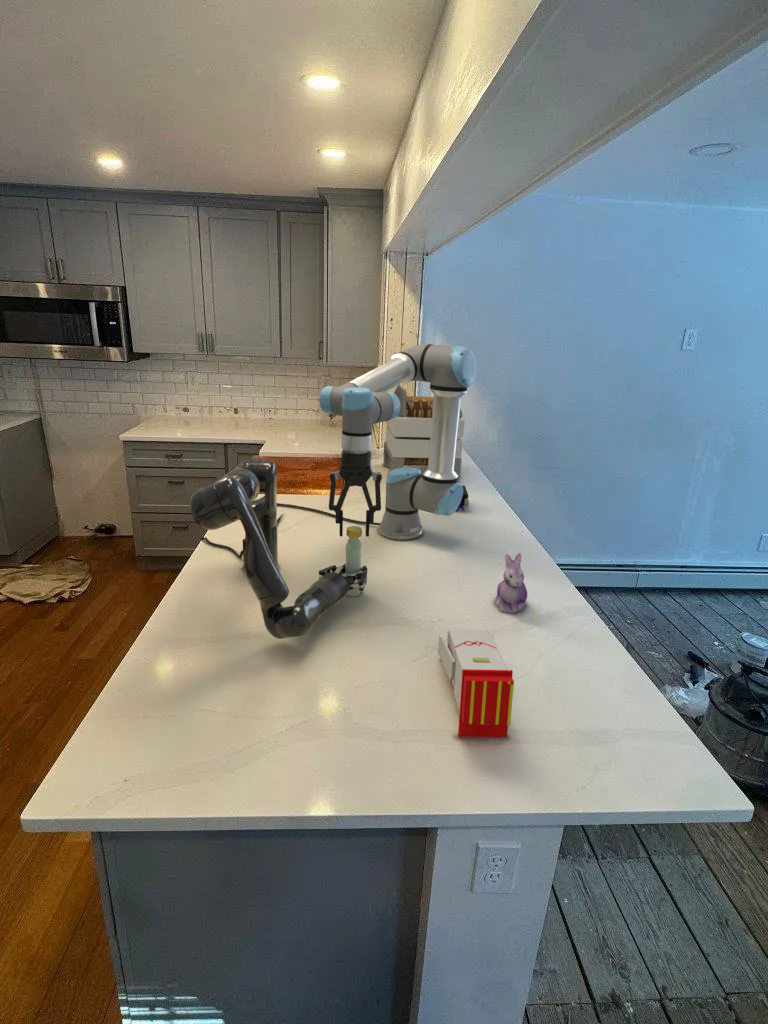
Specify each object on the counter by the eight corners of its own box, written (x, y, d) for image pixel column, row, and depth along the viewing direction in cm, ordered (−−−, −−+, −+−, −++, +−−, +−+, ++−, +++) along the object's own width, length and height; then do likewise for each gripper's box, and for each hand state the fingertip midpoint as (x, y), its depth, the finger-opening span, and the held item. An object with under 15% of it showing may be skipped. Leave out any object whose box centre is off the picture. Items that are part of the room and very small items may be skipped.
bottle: (349, 587, 160) (350, 527, 154) (362, 591, 158) (364, 530, 152) (342, 593, 156) (343, 532, 150) (355, 597, 155) (357, 535, 149)
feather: (290, 508, 223) (292, 504, 223) (272, 532, 197) (275, 527, 196) (286, 505, 223) (289, 501, 223) (268, 529, 197) (271, 525, 196)
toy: (488, 613, 130) (523, 677, 101) (484, 667, 133) (517, 744, 104) (435, 612, 130) (455, 676, 101) (432, 666, 133) (451, 743, 103)
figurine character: (468, 516, 224) (463, 500, 237) (471, 498, 221) (465, 483, 234) (452, 515, 224) (447, 499, 237) (453, 498, 220) (449, 482, 234)
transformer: (382, 463, 289) (386, 382, 275) (445, 464, 293) (451, 384, 279) (390, 482, 257) (394, 392, 243) (460, 483, 261) (468, 394, 247)
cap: (358, 531, 154) (358, 525, 154) (364, 537, 151) (364, 530, 150) (344, 533, 153) (344, 526, 152) (349, 538, 149) (349, 532, 148)
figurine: (509, 617, 148) (516, 565, 143) (485, 599, 156) (491, 550, 151) (537, 610, 152) (544, 559, 147) (512, 593, 161) (519, 544, 156)
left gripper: (351, 585, 139) (381, 560, 154) (302, 572, 144) (335, 549, 159) (350, 612, 141) (380, 584, 156) (302, 598, 147) (335, 573, 162)
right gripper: (392, 447, 148) (388, 529, 156) (318, 446, 146) (318, 529, 154) (395, 454, 141) (391, 540, 149) (317, 453, 139) (317, 539, 147)
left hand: (357, 567), depth 158 cm, fingers closed on bottle, 4 cm apart
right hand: (354, 534), depth 152 cm, fingers open, 6 cm apart
